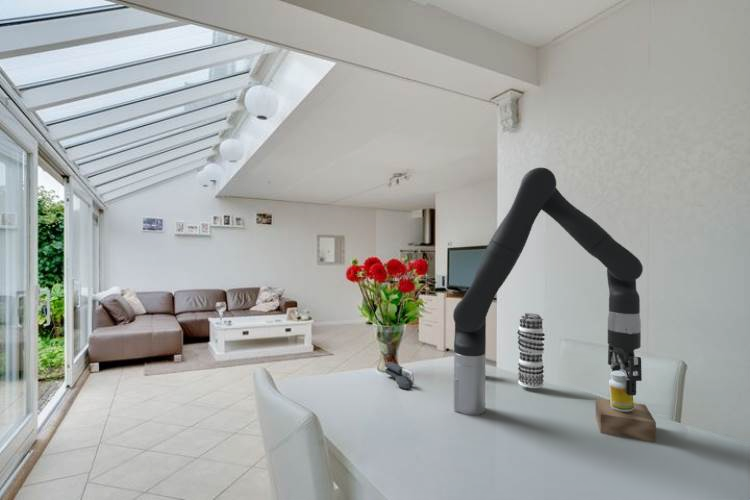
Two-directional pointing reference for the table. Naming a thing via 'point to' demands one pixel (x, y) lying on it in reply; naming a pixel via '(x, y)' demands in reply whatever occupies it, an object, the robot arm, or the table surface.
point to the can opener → (400, 375)
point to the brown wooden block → (625, 421)
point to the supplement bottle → (619, 393)
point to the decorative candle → (530, 351)
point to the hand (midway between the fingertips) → (623, 388)
